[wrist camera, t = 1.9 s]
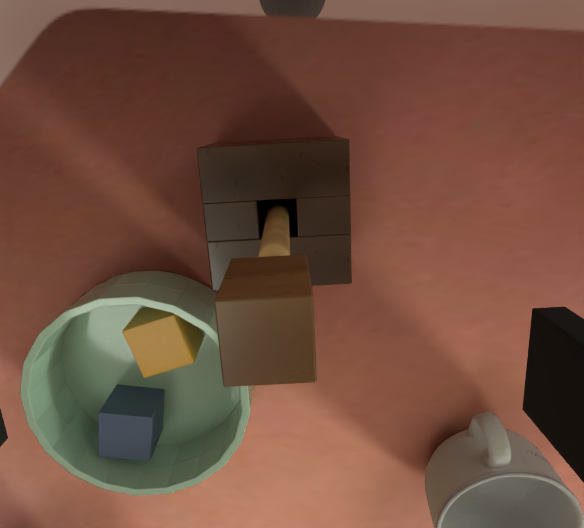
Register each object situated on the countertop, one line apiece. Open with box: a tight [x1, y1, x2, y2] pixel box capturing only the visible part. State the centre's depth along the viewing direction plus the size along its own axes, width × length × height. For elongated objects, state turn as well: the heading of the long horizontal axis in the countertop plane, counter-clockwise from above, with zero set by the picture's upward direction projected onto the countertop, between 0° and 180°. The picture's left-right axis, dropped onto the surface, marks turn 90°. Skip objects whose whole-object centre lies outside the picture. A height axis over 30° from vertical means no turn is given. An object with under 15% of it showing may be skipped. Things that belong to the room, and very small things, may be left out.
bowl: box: [20, 271, 253, 495], centre depth 36 cm, size 16×16×6 cm
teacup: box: [425, 412, 584, 528], centre depth 38 cm, size 14×11×8 cm
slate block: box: [98, 384, 165, 461], centre depth 38 cm, size 4×4×4 cm
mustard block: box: [122, 307, 203, 378], centre depth 36 cm, size 4×4×4 cm
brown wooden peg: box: [214, 199, 317, 387], centre depth 24 cm, size 3×3×24 cm
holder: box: [197, 136, 352, 291], centre depth 32 cm, size 9×9×7 cm
